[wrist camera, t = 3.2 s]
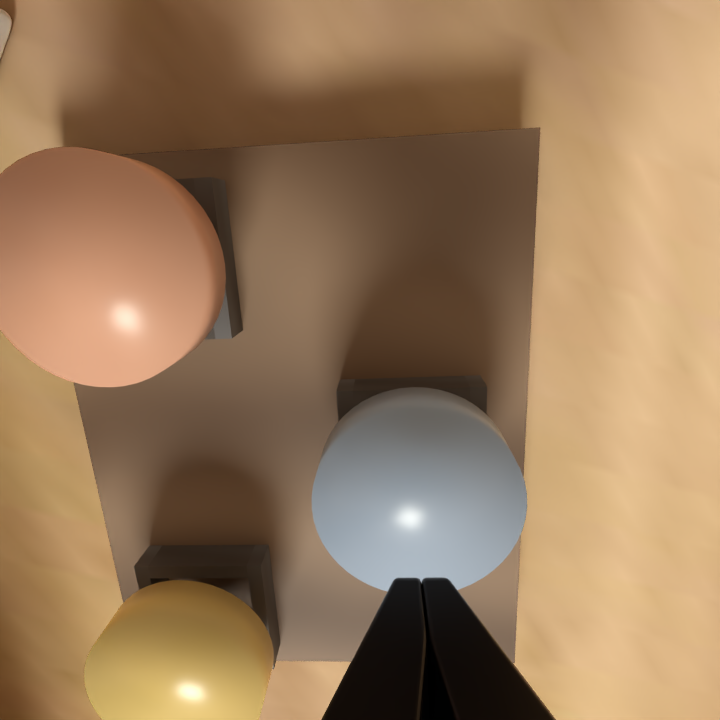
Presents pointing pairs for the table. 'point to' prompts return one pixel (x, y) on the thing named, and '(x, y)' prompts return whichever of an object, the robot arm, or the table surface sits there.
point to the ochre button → (180, 657)
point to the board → (320, 364)
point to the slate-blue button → (418, 490)
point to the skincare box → (4, 29)
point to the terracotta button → (104, 266)
